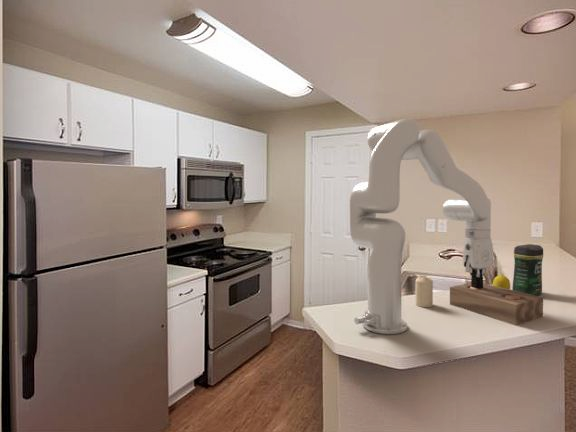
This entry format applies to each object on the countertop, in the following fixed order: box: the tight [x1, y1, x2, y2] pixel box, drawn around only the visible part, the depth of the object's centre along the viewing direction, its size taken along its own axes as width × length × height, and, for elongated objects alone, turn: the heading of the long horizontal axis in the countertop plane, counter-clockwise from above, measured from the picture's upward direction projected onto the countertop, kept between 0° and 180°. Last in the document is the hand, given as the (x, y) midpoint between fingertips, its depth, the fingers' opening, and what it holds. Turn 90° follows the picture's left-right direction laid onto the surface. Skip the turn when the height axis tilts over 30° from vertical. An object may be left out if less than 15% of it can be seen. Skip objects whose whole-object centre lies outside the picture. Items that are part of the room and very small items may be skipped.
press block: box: [449, 282, 544, 326], centre depth 113 cm, size 14×22×6 cm, turn 27°
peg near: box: [505, 295, 521, 300], centre depth 108 cm, size 4×4×6 cm
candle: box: [415, 275, 434, 308], centre depth 120 cm, size 6×6×10 cm
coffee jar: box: [511, 243, 544, 296], centre depth 130 cm, size 10×8×19 cm
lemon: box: [492, 274, 511, 290], centre depth 128 cm, size 6×6×8 cm
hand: (477, 287), depth 119 cm, fingers closed
